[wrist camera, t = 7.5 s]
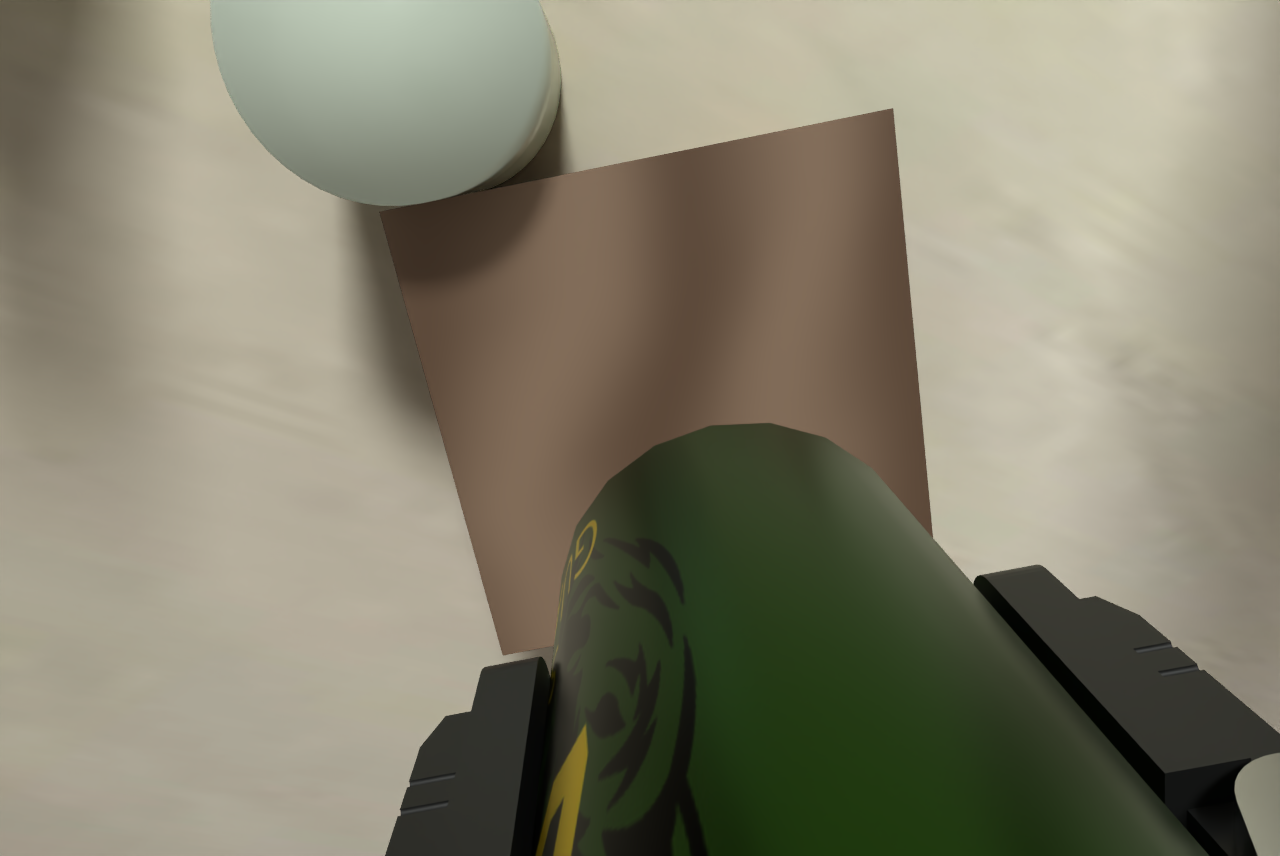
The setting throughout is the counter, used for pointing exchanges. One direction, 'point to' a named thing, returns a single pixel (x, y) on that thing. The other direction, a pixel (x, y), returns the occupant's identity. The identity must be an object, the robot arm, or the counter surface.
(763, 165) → the podium
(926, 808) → the beer can
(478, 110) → the pale green capsule
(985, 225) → the counter surface
